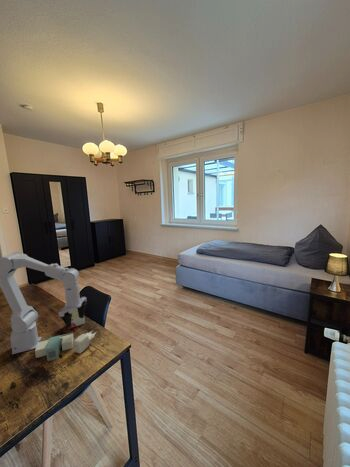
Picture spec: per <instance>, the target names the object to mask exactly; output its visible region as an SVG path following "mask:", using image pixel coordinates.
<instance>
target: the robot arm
mask: <svg viewBox="0 0 350 467" xmlns="http://www.w3.org/2000/svg"><path fill="white" fill-rule="evenodd" d="M21 268H22V269H23V268H29V269H31V270H35V271H39V272H42V273H43V272H44V275H45V277H46V276H47V277H50V278H51V279H55V280H59V281H61V283H62V284H63V287H64V295H65V303H66V304H65V305H66V306H65V305H64V306H63V308H62V309H61V310H60V311H58V317H59V318H61V320H62V321H63V322H64V324H65V326H66V328H67V329H68V328H70V329H72V328H71V318H72V314H69V311H71V310H73V309H75V308H77V309H78V315H79V318H85V312H86V308H87V306H88V302H87V301H88V300H87V297H86V296H81V295H80V289H79V280H78V278H79V277H80V272H79V270H78V269H76V268H74V267H70V268H68V267H63V266H61V265H59V264H58V263H57V262H56V263H51V264H47V263H45V262H42V261H40V260H37V259H35V258H33V257H30V256H28V254H26V253H22V252H20V251H16V252H13V253H10V254H8V255H5V256H2V257H0V289H1V291H2V293H3V295H4V298H5V300H6V301H7V304H8V305H9V307H10V309H11V312H12V314H11V317H10V322H11V330H12V331H11V333H10V340H9V341H10V345H11V355H15V354H19V353H23V352H27V351H32V350H34V349H36V347H37V344H38V341H39V340H42V336H39V335H38V328H37V320H38V318H39V314H38V311H36V310H35V309H34V308H33V306H31V305H28V304H27V302H26V300H25V297H24V295H23V293H22V291H21V289H20V287H19V285H18V283H17V280H16V279H15V276H14V275H15V273H16V271H17V270H18V269H21Z"/></svg>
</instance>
